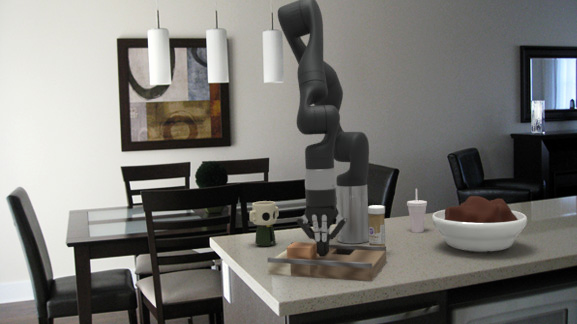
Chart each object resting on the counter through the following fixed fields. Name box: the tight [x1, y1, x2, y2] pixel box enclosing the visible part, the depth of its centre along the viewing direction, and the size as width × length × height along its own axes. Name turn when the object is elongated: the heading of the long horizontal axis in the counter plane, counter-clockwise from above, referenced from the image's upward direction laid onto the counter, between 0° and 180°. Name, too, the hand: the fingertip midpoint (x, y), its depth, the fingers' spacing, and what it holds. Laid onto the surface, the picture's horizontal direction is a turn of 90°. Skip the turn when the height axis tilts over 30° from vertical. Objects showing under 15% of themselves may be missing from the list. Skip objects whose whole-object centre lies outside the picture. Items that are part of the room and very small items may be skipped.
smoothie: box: [406, 188, 428, 234], centre depth 185 cm, size 6×6×14 cm
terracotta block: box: [286, 241, 317, 260], centre depth 144 cm, size 6×6×4 cm
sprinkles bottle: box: [368, 204, 386, 246], centre depth 157 cm, size 5×5×14 cm
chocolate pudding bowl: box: [431, 195, 528, 253], centre depth 160 cm, size 25×25×15 cm
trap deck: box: [267, 241, 387, 282], centre depth 146 cm, size 26×18×4 cm
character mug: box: [249, 200, 279, 247], centre depth 174 cm, size 11×7×13 cm, turn 131°
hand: (322, 255), depth 143 cm, fingers closed
